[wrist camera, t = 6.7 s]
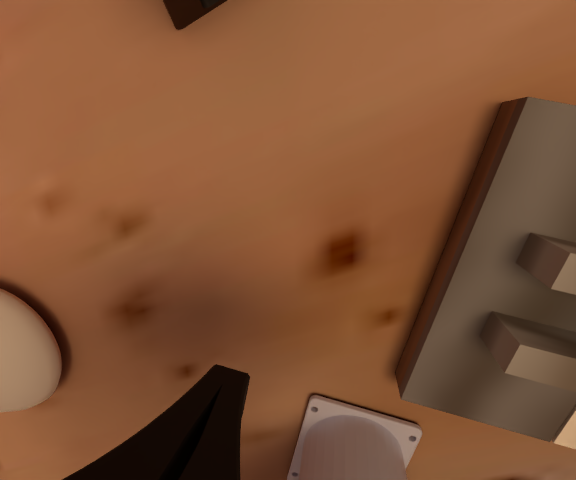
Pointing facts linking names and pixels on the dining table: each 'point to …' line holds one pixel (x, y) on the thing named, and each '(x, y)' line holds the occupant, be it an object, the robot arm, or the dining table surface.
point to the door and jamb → (507, 286)
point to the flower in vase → (25, 356)
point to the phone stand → (189, 10)
